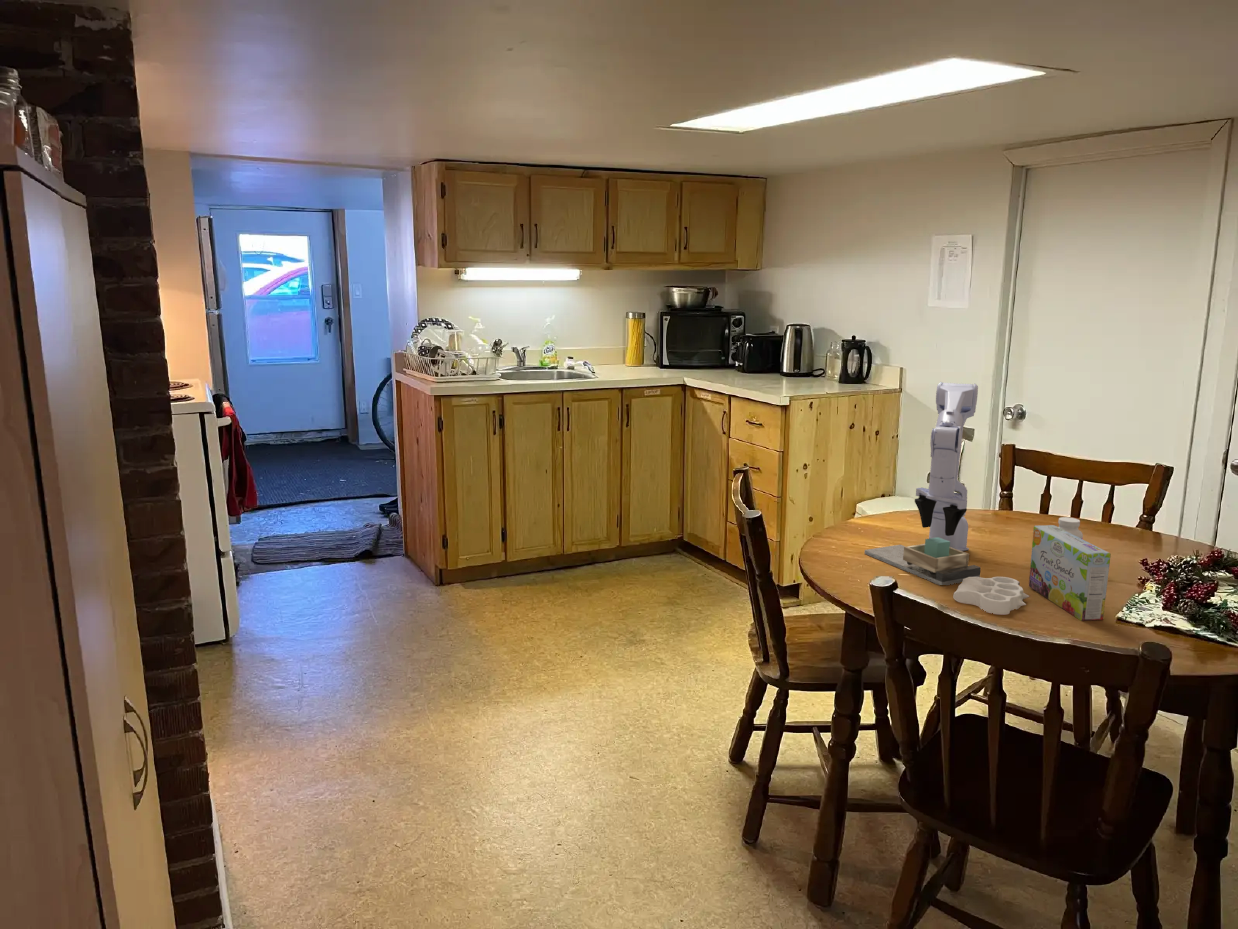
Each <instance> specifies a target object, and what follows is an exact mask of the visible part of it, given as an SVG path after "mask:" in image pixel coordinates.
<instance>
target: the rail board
mask: <svg viewBox="0 0 1238 929" xmlns="http://www.w3.org/2000/svg"><path fill="white" fill-rule="evenodd" d="M904 547H906V546H905V545H902V544H895V545H889V546H882V547H875V548H869V549H864V555H866V556H869V557H870V558H871V557H872V558H874V559H877V560H879V561H881V562H884V563H886V564H888V565H890V566H893V567H895V568H897V569H901V570H902V571H904V572H907V573H909V572H910V574H912V575H914V576H916V575H917V576H916V577H919V578H921V579H923V578H924V580H926V579H927V580H926V581H928V582H931V583H933V584H935V585H937V586H940V585H946V586H950V584H951V585H956V583H957V584H961V583H960V582H962V581H963V579H965V578H968V577H980V578H981V570H982V569H981V566H978V565H977V564H972V565H968V566H965V567H959V568H953V569H948V570H942V571H936V574H930V571H929V570H927V569H924V568H922V567H919V566H917V565H914V564H912V565H908V564H907V561H905V560H903V553H904ZM954 583H955V584H954Z"/></svg>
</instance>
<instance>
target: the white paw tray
mask: <svg viewBox="0 0 1238 929" xmlns="http://www.w3.org/2000/svg"><path fill="white" fill-rule="evenodd" d="M952 597H953V600H955V601H956V602H958V603H960V604H967V605H974V606H977V607H979V609H980V610H982V609H983V610H984V611H983V610H982V611H983V612H985V611H986V612H985V613H989V614H992V613H993V615H1002V616H1003V615H1009V614H1010V612H1011V611H1014V609H1016V610H1019V608H1021V606H1022V607H1023V606H1026V605H1027V603H1025V602H1024V601H1023V600H1024V599H1027V598H1031V597H1030V595H1028V594H1027V593H1025V592H1024V588H1023V587H1022V586H1020V581H1019V580H1017V579H1014V578H1012V577H1008V576H993V577H986V578H985V577H981V576H980V577H968V578H965V579H963V581H962V583H959V584H958V586H957V588H956V591H954V592H953V596H952Z"/></svg>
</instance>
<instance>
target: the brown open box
mask: <svg viewBox="0 0 1238 929" xmlns="http://www.w3.org/2000/svg"><path fill="white" fill-rule="evenodd" d="M924 550H925V543H921V544H915V545H908V546H905V547H904V553H903V560H905V561H907V564H908V565H912V564H914V565H917V566H919V567H922V568H924V569H927V570H929V571H930V574H936V571H942V570H948V569H953V568H959V567H965V566H969V561H970V553H968V552H965V551H960V550H957V549H954V548H952V547H950V548H949V556H945V557H939V558H935V557H932V556H929V555H927V554H924Z"/></svg>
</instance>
